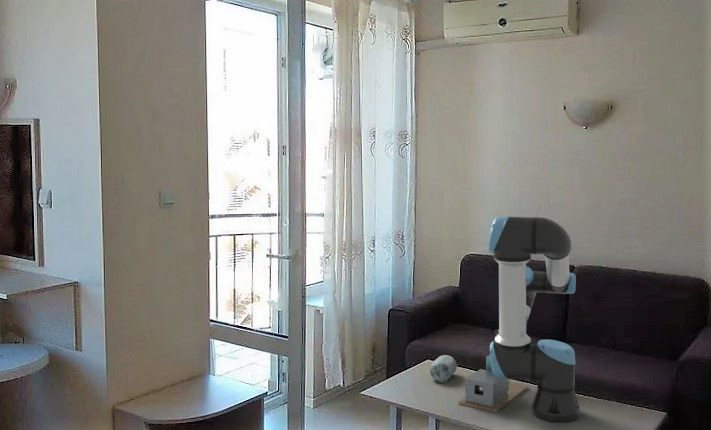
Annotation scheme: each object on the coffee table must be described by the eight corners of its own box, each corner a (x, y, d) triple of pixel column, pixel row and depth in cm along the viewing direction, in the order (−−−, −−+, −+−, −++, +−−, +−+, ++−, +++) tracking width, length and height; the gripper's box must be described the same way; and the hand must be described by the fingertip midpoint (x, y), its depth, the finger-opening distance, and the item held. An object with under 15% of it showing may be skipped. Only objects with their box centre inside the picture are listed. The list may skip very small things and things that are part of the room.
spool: (451, 378, 254) (442, 351, 257) (429, 386, 258) (420, 360, 261) (466, 376, 265) (457, 351, 269) (444, 384, 269) (436, 359, 273)
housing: (491, 381, 259) (491, 357, 258) (528, 388, 251) (528, 364, 250) (458, 404, 237) (458, 378, 236) (497, 412, 229) (497, 386, 228)
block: (487, 385, 249) (487, 355, 248) (509, 390, 244) (509, 359, 243) (469, 398, 237) (469, 366, 236) (491, 402, 233) (491, 370, 232)
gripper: (537, 324, 258) (519, 382, 246) (504, 319, 265) (485, 375, 254) (532, 314, 253) (513, 372, 241) (498, 309, 260) (479, 366, 249)
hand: (499, 374), depth 247 cm, fingers closed
